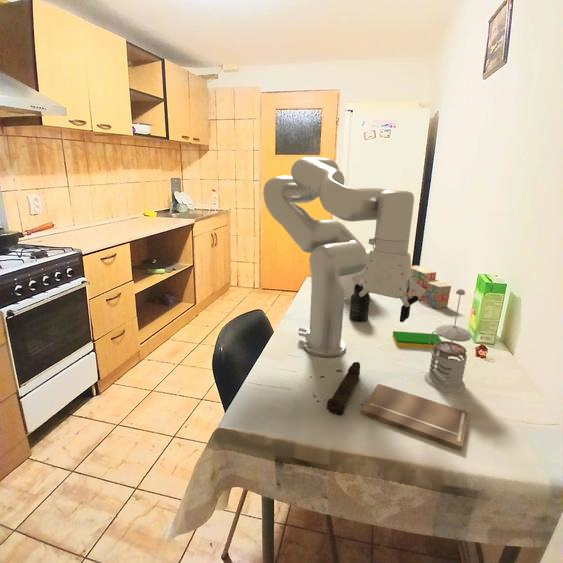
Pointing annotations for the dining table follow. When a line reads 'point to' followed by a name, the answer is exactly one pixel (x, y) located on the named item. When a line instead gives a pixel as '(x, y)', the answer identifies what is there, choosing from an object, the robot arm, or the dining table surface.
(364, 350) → the dining table surface
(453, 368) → the french press
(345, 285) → the canister
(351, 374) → the hand tool
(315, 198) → the robot arm
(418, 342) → the dish sponge
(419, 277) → the stack of blocks
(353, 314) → the supplement bottle
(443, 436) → the board
